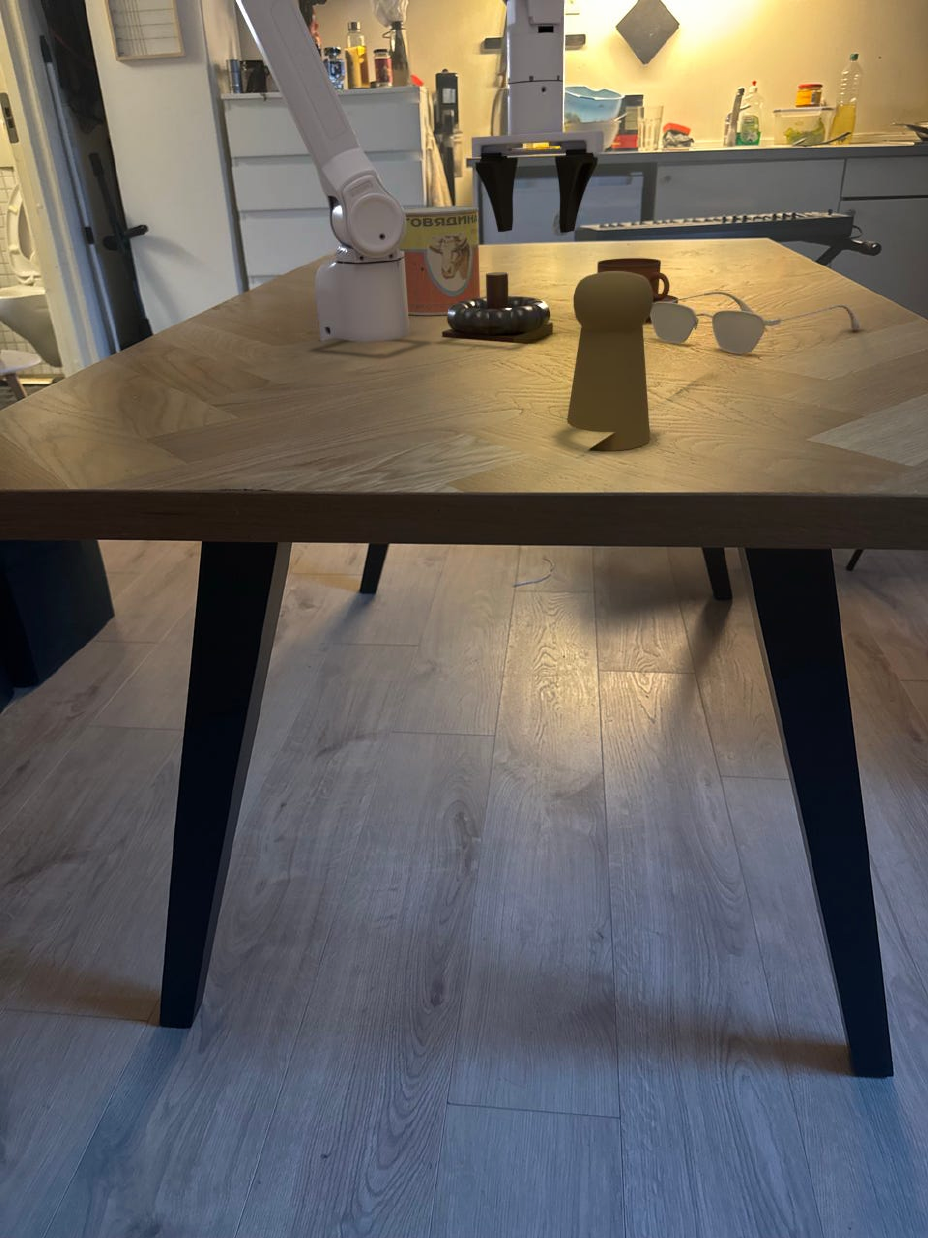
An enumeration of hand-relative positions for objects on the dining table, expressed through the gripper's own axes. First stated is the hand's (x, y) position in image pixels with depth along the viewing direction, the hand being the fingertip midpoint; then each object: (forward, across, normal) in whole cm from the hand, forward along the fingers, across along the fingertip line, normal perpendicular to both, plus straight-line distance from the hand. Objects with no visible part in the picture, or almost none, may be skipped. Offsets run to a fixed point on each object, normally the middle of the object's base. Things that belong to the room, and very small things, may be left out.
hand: (535, 231), depth 92 cm
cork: (+11, -24, +34) cm, 43 cm away
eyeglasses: (+11, -23, -6) cm, 26 cm away
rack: (+10, +2, +5) cm, 12 cm away
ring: (+8, +2, +5) cm, 10 cm away
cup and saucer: (+11, -6, -12) cm, 17 cm away
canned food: (+11, +20, -10) cm, 25 cm away
